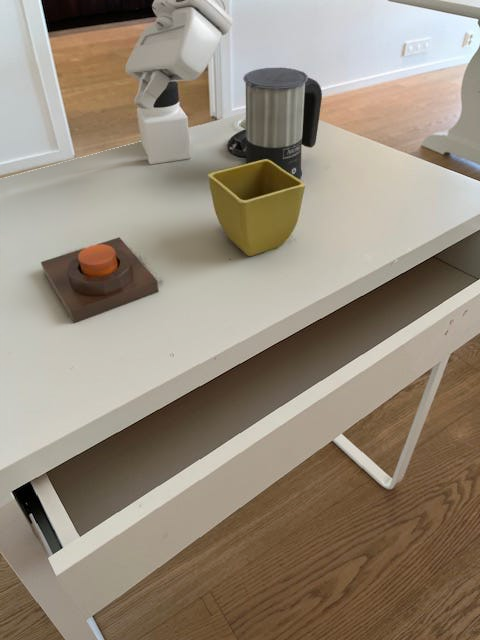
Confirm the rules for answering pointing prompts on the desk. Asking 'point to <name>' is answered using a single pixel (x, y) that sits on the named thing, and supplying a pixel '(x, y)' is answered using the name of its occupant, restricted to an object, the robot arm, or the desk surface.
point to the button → (97, 260)
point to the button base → (99, 282)
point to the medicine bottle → (165, 128)
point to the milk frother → (278, 118)
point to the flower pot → (256, 204)
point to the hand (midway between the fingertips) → (141, 106)
